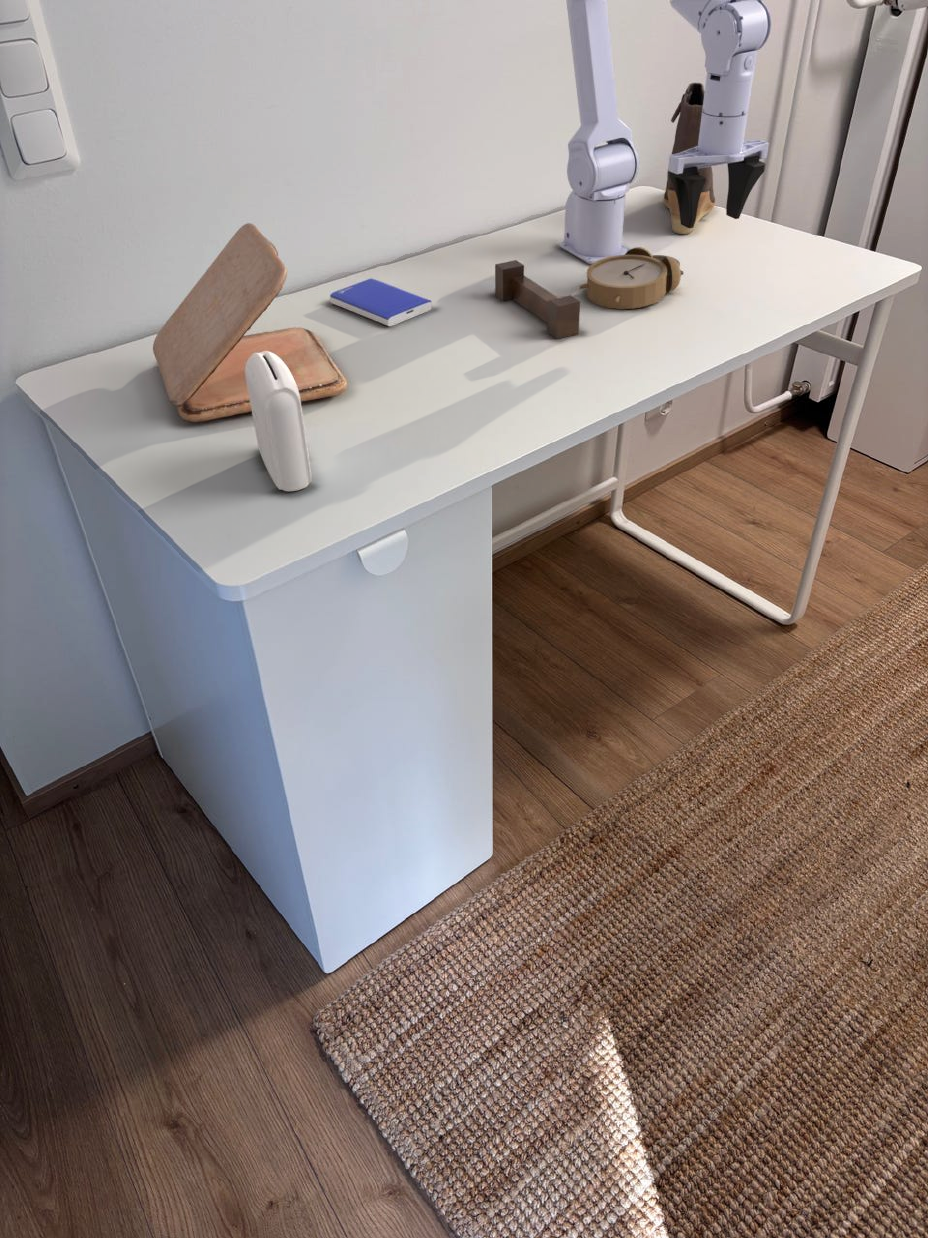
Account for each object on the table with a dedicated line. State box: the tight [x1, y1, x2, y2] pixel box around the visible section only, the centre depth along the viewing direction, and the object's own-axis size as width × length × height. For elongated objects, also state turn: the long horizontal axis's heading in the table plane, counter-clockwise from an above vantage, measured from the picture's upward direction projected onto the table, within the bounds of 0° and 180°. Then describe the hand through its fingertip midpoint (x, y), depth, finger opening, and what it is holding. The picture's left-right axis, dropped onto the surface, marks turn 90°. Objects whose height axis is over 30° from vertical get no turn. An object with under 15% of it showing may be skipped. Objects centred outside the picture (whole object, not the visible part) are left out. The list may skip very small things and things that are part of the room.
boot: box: [663, 82, 716, 235], centre depth 160 cm, size 9×24×20 cm, turn 168°
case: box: [152, 222, 348, 423], centre depth 117 cm, size 20×21×16 cm
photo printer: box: [245, 351, 313, 492], centre depth 101 cm, size 10×4×12 cm, turn 22°
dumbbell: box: [494, 259, 581, 340], centre depth 134 cm, size 17×4×4 cm, turn 26°
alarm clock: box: [578, 246, 684, 310], centre depth 139 cm, size 11×5×15 cm
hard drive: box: [329, 277, 432, 327], centre depth 138 cm, size 2×8×12 cm
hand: (710, 221), depth 133 cm, fingers open, 7 cm apart
